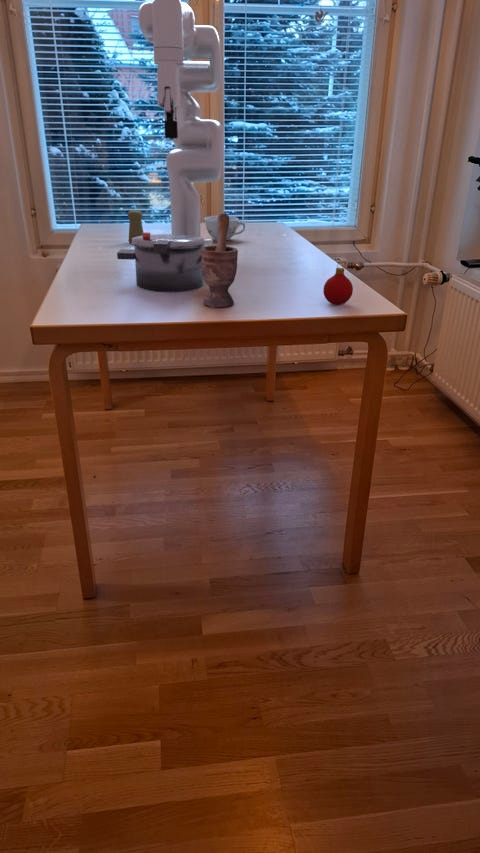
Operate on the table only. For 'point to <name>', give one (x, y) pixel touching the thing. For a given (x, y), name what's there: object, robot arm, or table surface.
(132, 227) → the olive green tall piece
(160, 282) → the pot
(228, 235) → the teacup
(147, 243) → the lid
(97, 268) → the table surface
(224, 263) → the mortar and pestle
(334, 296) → the christmas ornament
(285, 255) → the table surface
